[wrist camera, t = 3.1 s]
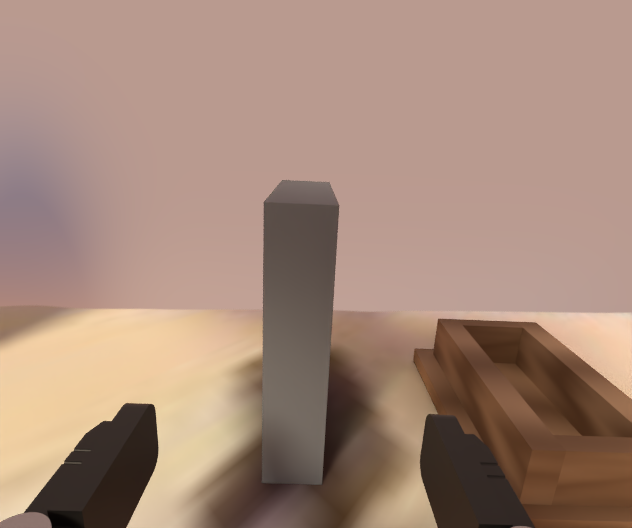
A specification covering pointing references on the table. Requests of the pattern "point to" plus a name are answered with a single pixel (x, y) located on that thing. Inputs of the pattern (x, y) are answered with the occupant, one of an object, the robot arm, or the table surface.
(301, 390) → the grey upright flat block
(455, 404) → the rack
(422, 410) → the table surface
